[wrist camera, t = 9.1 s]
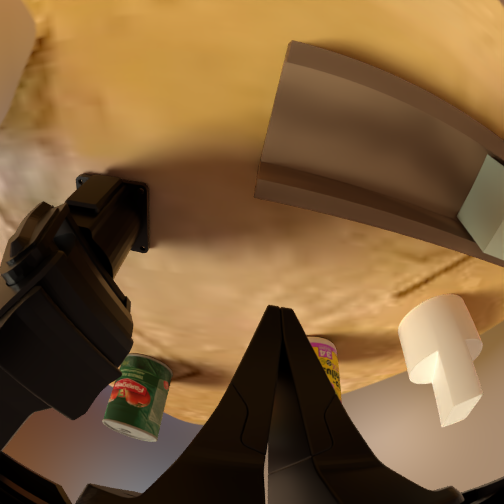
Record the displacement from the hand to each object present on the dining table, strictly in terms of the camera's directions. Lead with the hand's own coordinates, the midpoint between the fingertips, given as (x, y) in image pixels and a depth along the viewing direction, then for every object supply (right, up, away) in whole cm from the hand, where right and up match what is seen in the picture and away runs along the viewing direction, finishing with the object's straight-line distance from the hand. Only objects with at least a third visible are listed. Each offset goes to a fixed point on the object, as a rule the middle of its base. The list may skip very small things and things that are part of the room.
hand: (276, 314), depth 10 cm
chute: (+11, +9, +7) cm, 16 cm away
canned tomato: (-16, -15, +29) cm, 37 cm away
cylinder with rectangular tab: (+20, -6, +19) cm, 28 cm away
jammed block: (+18, +7, +7) cm, 21 cm away
